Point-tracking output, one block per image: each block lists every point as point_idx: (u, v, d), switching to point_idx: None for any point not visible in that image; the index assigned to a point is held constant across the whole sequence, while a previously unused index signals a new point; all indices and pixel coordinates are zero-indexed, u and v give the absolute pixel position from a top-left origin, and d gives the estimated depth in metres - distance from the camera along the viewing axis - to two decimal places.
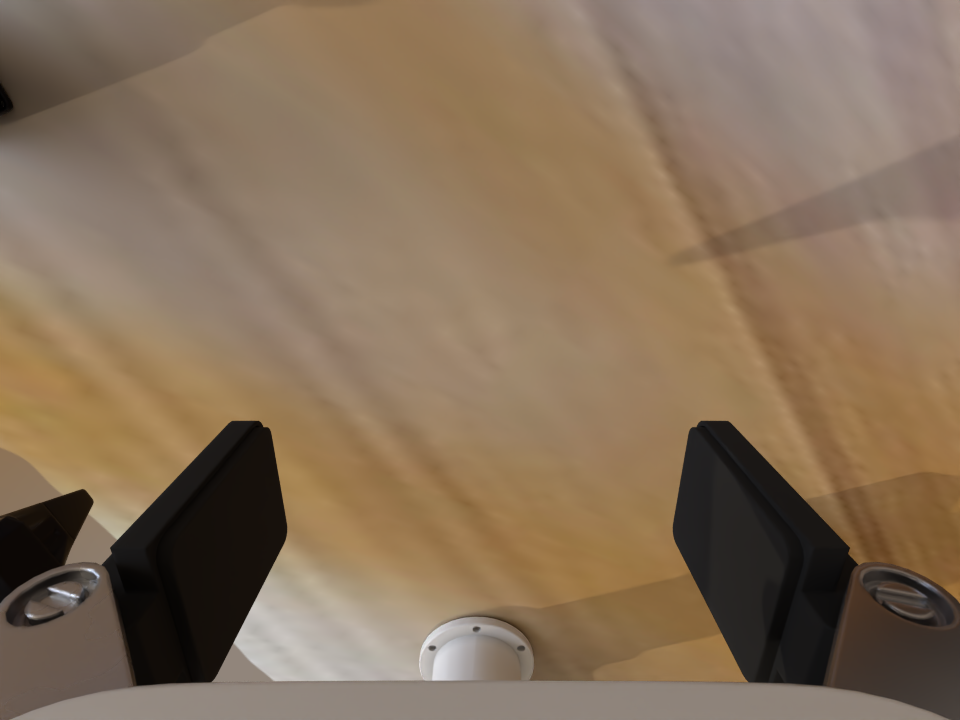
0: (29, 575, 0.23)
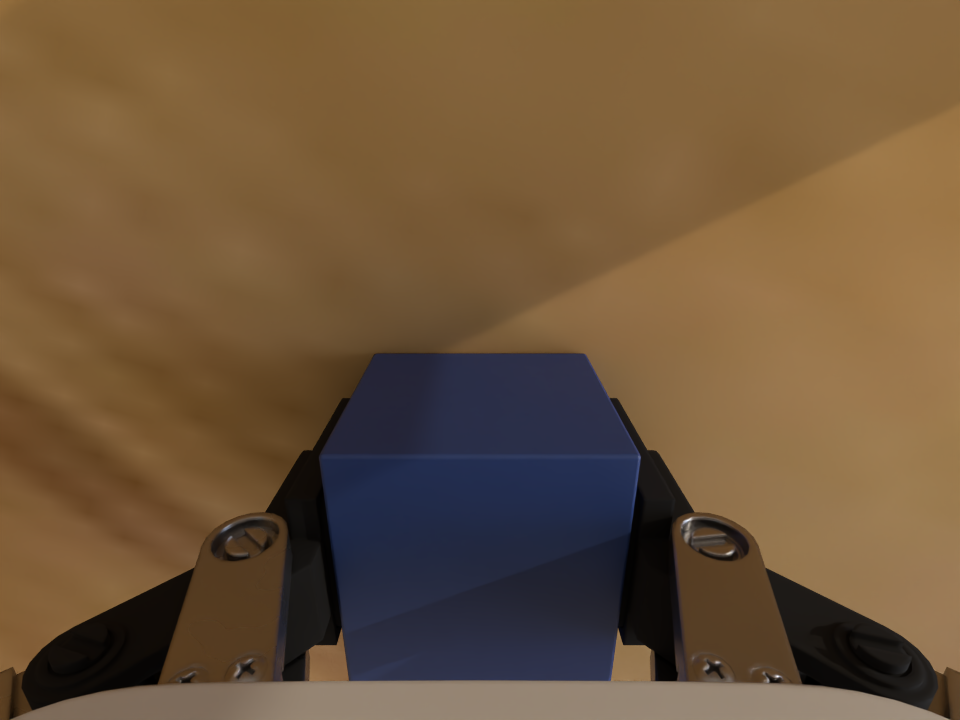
0: None
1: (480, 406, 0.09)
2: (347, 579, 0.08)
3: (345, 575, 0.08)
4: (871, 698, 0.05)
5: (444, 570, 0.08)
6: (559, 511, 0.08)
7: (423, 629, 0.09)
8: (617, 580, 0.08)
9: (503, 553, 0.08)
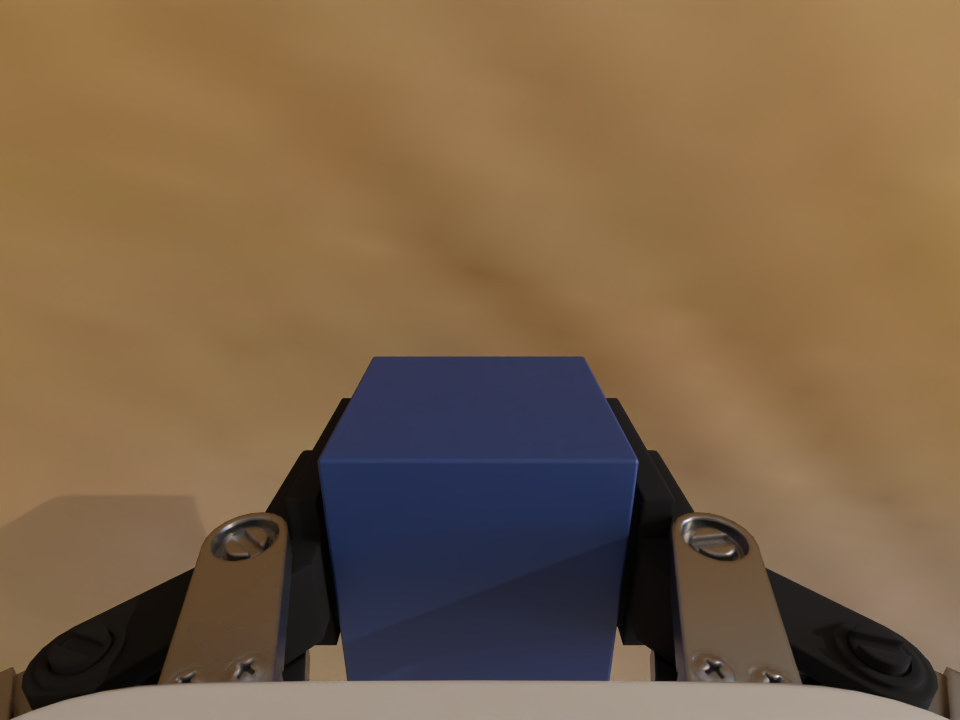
0: None
1: (478, 409, 0.09)
2: (346, 583, 0.08)
3: (344, 579, 0.08)
4: (871, 698, 0.05)
5: (443, 574, 0.08)
6: (557, 514, 0.08)
7: (421, 632, 0.09)
8: (614, 584, 0.09)
9: (502, 556, 0.08)
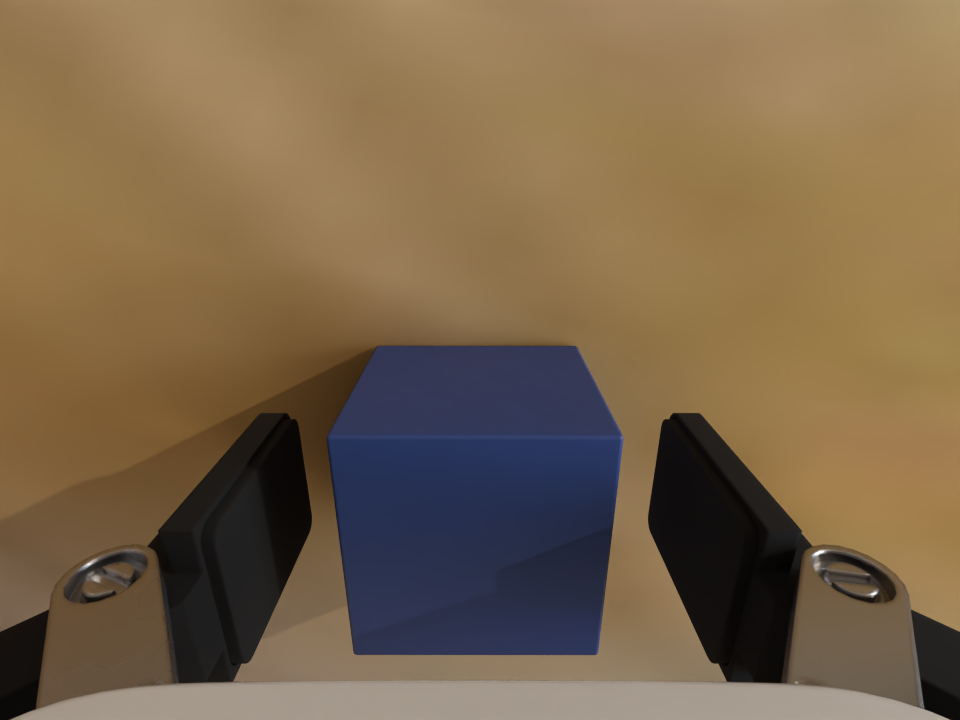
0: None
1: (476, 392, 0.10)
2: (352, 552, 0.09)
3: (350, 549, 0.09)
4: (871, 698, 0.05)
5: (442, 544, 0.09)
6: (548, 487, 0.09)
7: (422, 600, 0.10)
8: (602, 554, 0.09)
9: (497, 527, 0.09)
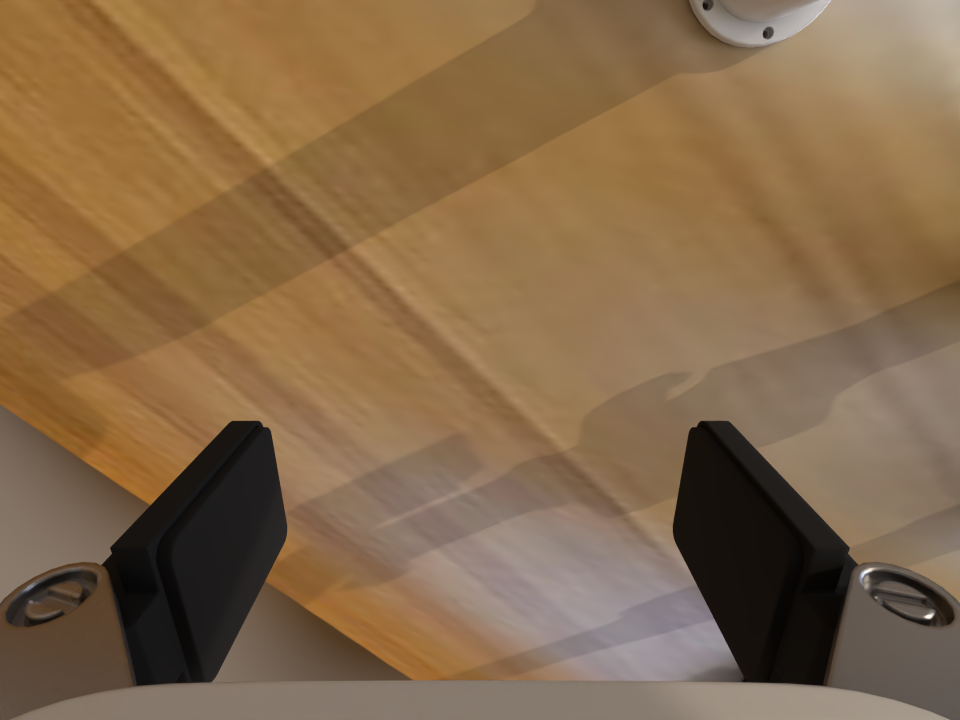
0: None
1: None
2: None
3: None
4: (871, 698, 0.05)
5: None
6: None
7: None
8: None
9: None
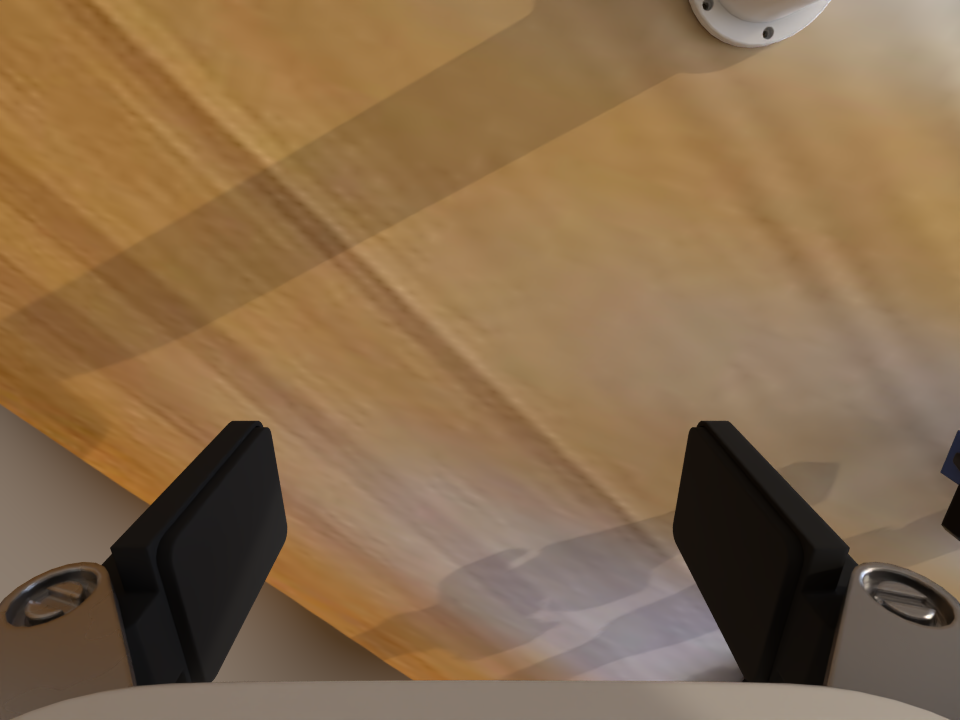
0: None
1: None
2: None
3: None
4: (871, 698, 0.05)
5: None
6: None
7: None
8: None
9: None
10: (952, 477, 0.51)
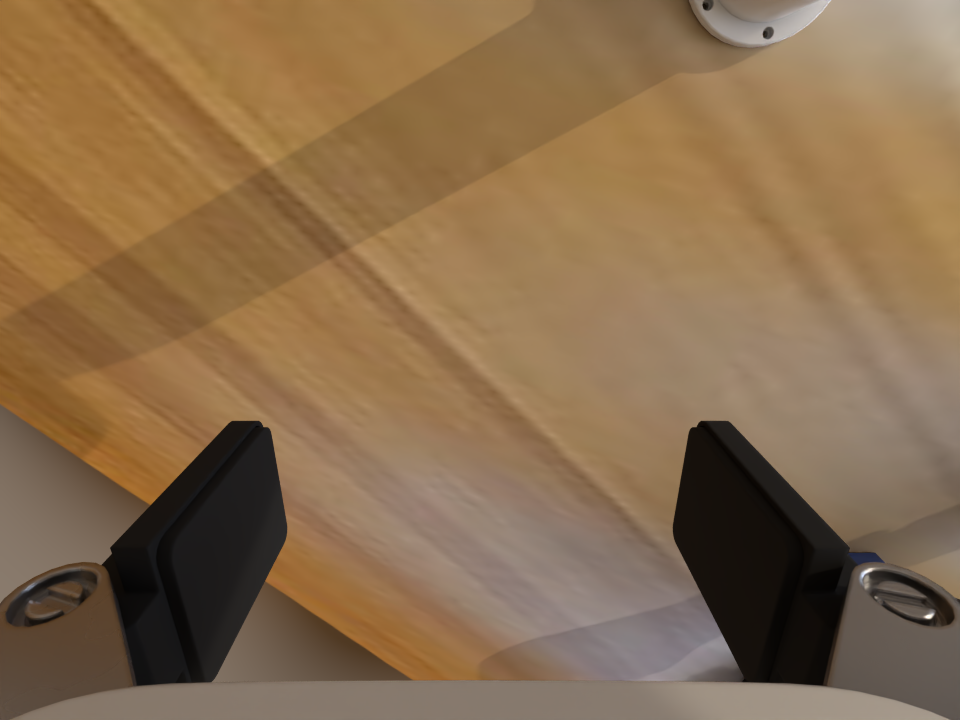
0: None
1: None
2: None
3: None
4: (871, 698, 0.05)
5: None
6: None
7: None
8: None
9: None
10: None
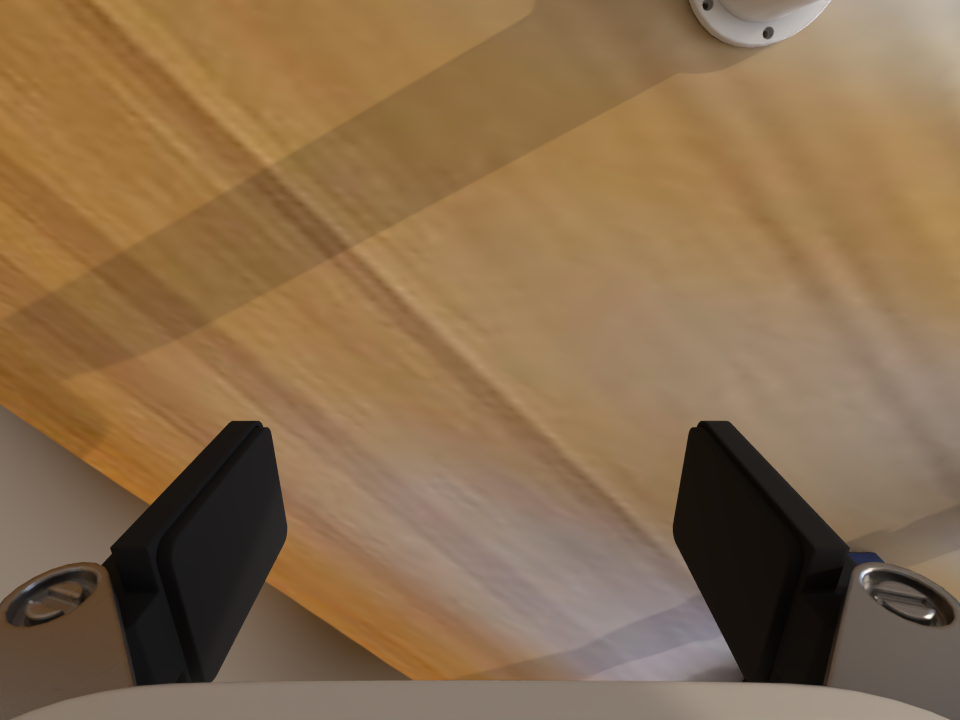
0: None
1: None
2: None
3: None
4: (871, 698, 0.05)
5: None
6: None
7: None
8: None
9: None
10: None
